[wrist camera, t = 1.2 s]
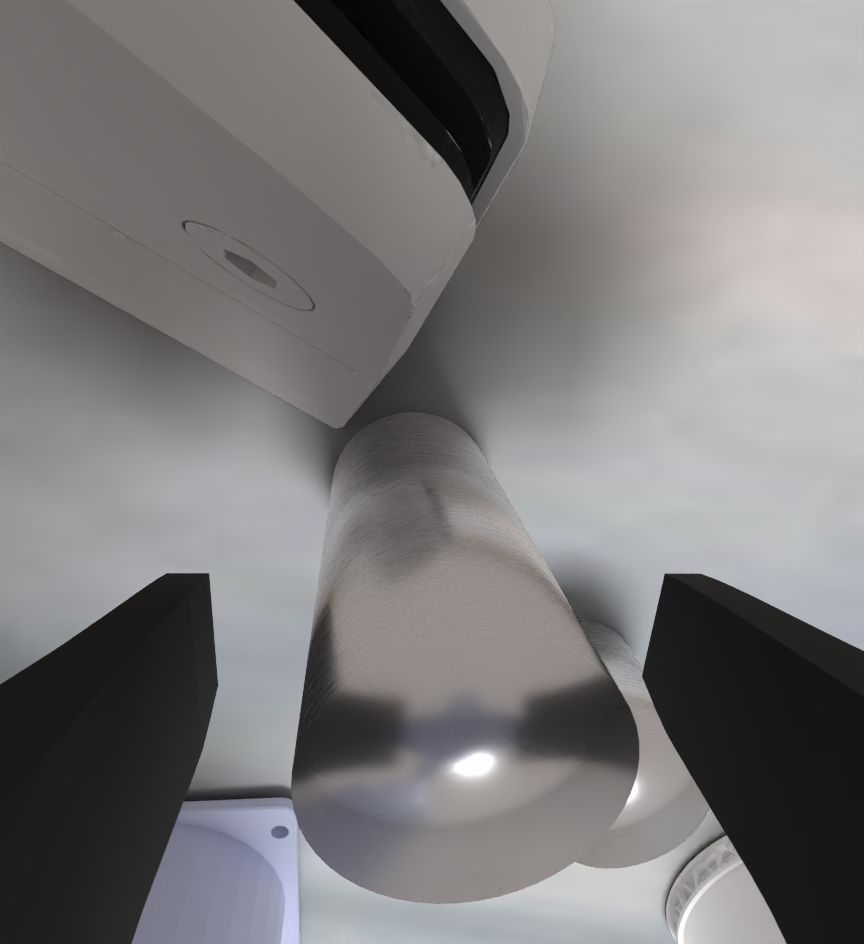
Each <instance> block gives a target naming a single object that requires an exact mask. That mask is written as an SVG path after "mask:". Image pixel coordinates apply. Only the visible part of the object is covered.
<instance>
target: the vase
mask: <svg viewBox="0 0 864 944" xmlns="http://www.w3.org/2000/svg"><path fill="white" fill-rule="evenodd" d="M666 918H667V923H668V926H669V928H670V931H671V933H672V935H673V937H674V938H675V939H676V941H677V944H786V942H785V939H784V937H783V935H782V933H781V931H780V929H779V927H778V925H777V923H776V921H775V919H774V917H773V915H772V913H771V911H770V909H769V907H768V905H767V904H766V902H765V900H764V898H763V896H762V894H761V893H760V891H759V889H758V887H757V885H756V884H755V882H754V880H753V878H752V876H751V875H750V873H749V871H748V870H747V868H746V866H745V865H744V863H743V861H742V860H741V858H740V856H739V855H738V853H737V851H736V850H735V848H734V846H733V845H732V843H731V841H730V840H729V838H728V836H727V835H726V836H724V837H722V838H721V839H719V840H717V841H716V842H714V843H713V844H711V845H710V846H708V847H707V848H706V849H704V850H703V851H702V852H700V853H699V854H698V855H697V856H696V857H695V858H694V859H693V860H692V861H691V862H690V863H689V864H688V865H687V866H686V867H685V868H684V870H683V871H682V872H681V873H680V875H679V876H678V878H677V879H676V881H675V883H674V885H673V886H672V888H671V891H670V893H669V896H668V900H667V905H666Z"/></svg>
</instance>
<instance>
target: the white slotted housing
mask: <svg viewBox="0 0 864 944" xmlns="http://www.w3.org/2000/svg"><path fill="white" fill-rule="evenodd" d="M554 26H555V24H554V19H553V14H552V10H551V5H550V1H549V0H0V242H2V243H4V244H5V245H7V246H9V247H11V248H12V249H14V250H16V251H18V252H20V253H21V254H23V255H25V256H27V257H29V258H30V259H32V260H34V261H36V262H37V263H39V264H41V265H43V266H45V267H46V268H48V269H50V270H52V271H54V272H55V273H57V274H59V275H61V276H62V277H64V278H66V279H68V280H70V281H71V282H73V283H75V284H77V285H79V286H80V287H82V288H84V289H86V290H87V291H89V292H91V293H93V294H95V295H96V296H98V297H100V298H102V299H104V300H105V301H107V302H109V303H111V304H112V305H114V306H116V307H118V308H120V309H121V310H123V311H125V312H127V313H129V314H130V315H132V316H134V317H136V318H137V319H139V320H141V321H143V322H145V323H146V324H148V325H150V326H152V327H154V328H155V329H157V330H159V331H161V332H162V333H164V334H166V335H168V336H170V337H171V338H173V339H175V340H177V341H179V342H180V343H182V344H184V345H186V346H187V347H189V348H191V349H193V350H195V351H196V352H198V353H200V354H202V355H204V356H205V357H207V358H209V359H211V360H213V361H214V362H216V363H218V364H220V365H221V366H223V367H225V368H227V369H229V370H230V371H232V372H234V373H236V374H238V375H239V376H241V377H243V378H245V379H246V380H248V381H250V382H252V383H254V384H255V385H257V386H259V387H261V388H263V389H264V390H266V391H268V392H270V393H271V394H273V395H275V396H277V397H279V398H280V399H282V400H284V401H286V402H288V403H289V404H291V405H293V406H295V407H296V408H298V409H300V410H302V411H304V412H305V413H307V414H309V415H311V416H313V417H314V418H316V419H318V420H320V421H321V422H323V423H325V424H327V425H329V426H330V427H332V428H334V429H335V428H341V427H344V426H345V424H346V423H347V422H348V421H349V420H350V418H351V417H352V416H353V415H354V414H355V412H356V411H357V410H358V409H359V407H360V406H361V405H362V404H363V403H364V401H365V400H366V399H367V398H368V397H369V395H370V394H371V393H372V392H373V390H374V389H375V388H376V387H377V386H378V384H379V383H380V382H381V381H382V380H383V378H384V377H385V376H386V375H387V374H388V372H389V371H390V370H391V369H392V368H393V366H394V365H395V364H396V363H397V362H398V360H399V359H400V358H401V357H402V356H403V354H404V353H405V352H406V351H407V349H408V348H409V346H410V344H411V343H412V341H413V340H414V338H415V336H416V335H417V333H418V331H419V330H420V328H421V326H422V325H423V323H424V321H425V320H426V318H427V316H428V315H429V313H430V311H431V310H432V308H433V306H434V305H435V303H436V301H437V300H438V298H439V296H440V295H441V293H442V291H443V290H444V288H445V286H446V285H447V283H448V281H449V280H450V278H451V276H452V275H453V273H454V271H455V270H456V268H457V266H458V265H459V263H460V261H461V260H462V258H463V256H464V255H465V253H466V251H467V250H468V248H469V246H470V245H471V243H472V241H473V240H474V238H475V230H476V228H477V227H478V225H479V223H480V221H481V220H482V218H483V216H484V215H485V213H486V211H487V210H488V208H489V206H490V205H491V203H492V201H493V199H494V198H495V196H496V194H497V193H498V191H499V189H500V188H501V186H502V184H503V182H504V181H505V179H506V177H507V176H508V174H509V172H510V171H511V169H512V167H513V166H514V164H515V162H516V160H517V159H518V157H519V155H520V154H521V152H522V150H523V149H524V147H525V145H526V143H527V140H528V136H529V132H530V129H531V125H532V122H533V118H534V115H535V111H536V107H537V104H538V100H539V97H540V93H541V90H542V86H543V82H544V79H545V75H546V72H547V68H548V65H549V61H550V57H551V54H552V50H553V46H554Z"/></svg>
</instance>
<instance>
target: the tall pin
mask: <svg viewBox="0 0 864 944" xmlns="http://www.w3.org/2000/svg"><path fill="white" fill-rule="evenodd" d="M639 758H640V757H639V737H638V731H637V726H636V722H635V720H634V717H633V714H632V712H631V709H630V707H629V705H628V703H627V702H626V700H625V698H624V697H623V695H622V693H621V691H620V690H619V688H618V686H617V684H616V683H615V681H614V679H613V678H612V676H611V674H610V672H609V671H608V669H607V667H606V666H605V664H604V662H603V660H602V659H601V657H600V655H599V654H598V652H597V650H596V648H595V647H594V645H593V643H592V641H591V640H590V638H589V636H588V635H587V633H586V631H585V629H584V628H583V626H582V624H581V623H580V621H579V619H578V617H577V616H576V614H575V612H574V610H573V609H572V607H571V605H570V604H569V602H568V600H567V598H566V597H565V595H564V593H563V592H562V590H561V588H560V586H559V585H558V583H557V581H556V579H555V578H554V576H553V574H552V573H551V571H550V569H549V567H548V566H547V564H546V562H545V561H544V559H543V557H542V555H541V554H540V552H539V550H538V549H537V547H536V545H535V543H534V542H533V540H532V538H531V536H530V535H529V533H528V531H527V530H526V528H525V526H524V524H523V523H522V521H521V519H520V518H519V516H518V514H517V512H516V511H515V509H514V507H513V505H512V504H511V502H510V500H509V499H508V497H507V495H506V493H505V492H504V490H503V488H502V487H501V485H500V483H499V481H498V480H497V478H496V476H495V474H494V473H493V471H492V469H491V468H490V466H489V464H488V462H487V461H486V459H485V457H484V456H483V454H482V452H481V450H480V449H479V447H478V445H477V444H476V443H475V441H474V440H473V439H472V437H471V436H470V435H469V434H468V433H467V432H465V431H464V430H463V429H462V428H461V427H459V426H458V425H456V424H455V423H453V422H451V421H449V420H447V419H445V418H442V417H440V416H437V415H433V414H429V413H422V412H403V413H397V414H392V415H389V416H386V417H383V418H380V419H378V420H376V421H374V422H372V423H370V424H369V425H367V426H365V427H364V428H363V429H361V430H360V431H359V432H358V433H357V434H356V435H355V436H354V437H353V438H352V439H351V440H350V441H349V442H348V443H347V445H346V446H345V448H344V449H343V451H342V453H341V454H340V456H339V458H338V461H337V463H336V466H335V470H334V474H333V480H332V487H331V494H330V502H329V509H328V516H327V523H326V531H325V538H324V545H323V552H322V559H321V567H320V574H319V581H318V588H317V596H316V603H315V610H314V617H313V625H312V632H311V639H310V646H309V654H308V661H307V668H306V675H305V683H304V690H303V697H302V704H301V712H300V719H299V726H298V733H297V741H296V748H295V755H294V762H293V770H292V783H291V794H292V803H293V809H294V812H295V816H296V819H297V822H298V825H299V827H300V829H301V831H302V833H303V835H304V837H305V839H306V841H307V842H308V843H309V845H310V846H311V847H312V849H313V850H314V851H315V853H316V854H317V855H318V856H319V857H320V858H321V859H322V860H323V861H324V862H325V863H326V864H327V865H328V866H329V867H330V868H332V869H333V870H334V871H336V872H337V873H338V874H340V875H341V876H342V877H344V878H346V879H347V880H349V881H351V882H353V883H355V884H356V885H358V886H360V887H363V888H365V889H368V890H370V891H373V892H375V893H377V894H381V895H384V896H388V897H392V898H395V899H400V900H406V901H412V902H420V903H434V904H443V903H463V902H472V901H479V900H484V899H489V898H494V897H499V896H502V895H505V894H509V893H512V892H515V891H518V890H521V889H524V888H526V887H529V886H531V885H534V884H536V883H538V882H540V881H542V880H544V879H546V878H548V877H550V876H552V875H554V874H556V873H557V872H559V871H561V870H562V869H564V868H565V867H567V866H569V865H570V864H572V863H573V862H574V861H576V860H577V859H578V858H580V857H581V856H582V855H584V854H585V853H586V852H587V851H589V850H590V849H591V848H592V847H593V846H594V845H595V844H596V843H597V842H598V841H599V840H600V839H601V838H602V837H603V836H604V835H605V833H606V832H607V831H608V830H609V829H610V827H611V826H612V825H613V824H614V822H615V821H616V819H617V818H618V816H619V815H620V813H621V812H622V810H623V809H624V807H625V805H626V803H627V800H628V798H629V796H630V794H631V792H632V789H633V786H634V783H635V780H636V776H637V771H638V765H639Z"/></svg>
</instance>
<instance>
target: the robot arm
mask: <svg viewBox="0 0 864 944" xmlns="http://www.w3.org/2000/svg"><path fill="white" fill-rule="evenodd" d="M642 678H643V680H644V683H645V685H646V688H647V690H648V692H649V695H650V697H651V700H652V702H653V705H654V707H655V709H656V712H657V714H658V716H659V718H660V720H661V723H662V725H663V727H664V729H665V732H666V734H667V735H668V737H669V739H670V741H671V742H672V744H673V746H674V748H675V749H676V751H677V753H678V755H679V756H680V758H681V760H682V761H683V763H684V765H685V766H686V768H687V770H688V771H689V773H690V775H691V777H692V778H693V780H694V782H695V783H696V785H697V787H698V788H699V790H700V792H701V793H702V795H703V797H704V798H705V800H706V802H707V803H708V805H709V807H710V808H711V810H712V811H713V813H714V815H715V816H716V818H717V820H718V821H719V823H720V825H721V826H722V828H723V830H724V831H725V833H726V835H727V836H728V838H729V840H730V841H731V843H732V845H733V846H734V848H735V850H736V851H737V853H738V855H739V856H740V858H741V860H742V861H743V863H744V865H745V866H746V868H747V870H748V871H749V873H750V875H751V876H752V878H753V880H754V882H755V884H756V885H757V887H758V889H759V891H760V893H761V894H762V896H763V898H764V900H765V902H766V904H767V905H768V907H769V909H770V911H771V913H772V915H773V917H774V919H775V921H776V923H777V925H778V927H779V929H780V931H781V933H782V935H783V937H784V939H785V942H786V944H864V651H862V650H860V649H858V648H856V647H854V646H852V645H850V644H848V643H846V642H844V641H842V640H840V639H838V638H836V637H834V636H832V635H830V634H827V633H825V632H823V631H821V630H819V629H817V628H815V627H813V626H811V625H809V624H807V623H805V622H803V621H801V620H799V619H797V618H795V617H793V616H791V615H789V614H787V613H785V612H783V611H781V610H779V609H777V608H775V607H773V606H771V605H769V604H767V603H765V602H763V601H761V600H759V599H757V598H755V597H753V596H751V595H749V594H747V593H745V592H743V591H740V590H738V589H736V588H734V587H732V586H730V585H727V584H725V583H723V582H721V581H718V580H716V579H713V578H711V577H708V576H705V575H702V574H665V576H664V580H663V585H662V589H661V594H660V598H659V602H658V607H657V611H656V616H655V620H654V625H653V629H652V634H651V638H650V642H649V647H648V651H647V656H646V660H645V665H644V669H643V674H642ZM217 687H218V680H217V667H216V655H215V642H214V630H213V617H212V605H211V592H210V579H209V573H167V574H165V575H163V576H162V577H160V578H158V579H157V580H155V581H154V582H152V583H151V584H149V585H148V586H146V587H145V588H143V589H142V590H140V591H139V592H137V593H136V594H135V595H133V596H132V597H130V598H129V599H128V600H126V601H125V602H123V603H122V604H120V605H119V606H118V607H116V608H115V609H113V610H112V611H111V612H109V613H108V614H106V615H105V616H103V617H102V618H101V619H99V620H98V621H96V622H95V623H93V624H92V625H90V626H89V627H88V628H86V629H85V630H83V631H82V632H80V633H79V634H77V635H76V636H75V637H73V638H72V639H70V640H69V641H67V642H66V643H64V644H63V645H61V646H60V647H58V648H57V649H56V650H54V651H52V652H51V653H49V654H48V655H46V656H45V657H43V658H41V659H40V660H38V661H37V662H35V663H33V664H32V665H30V666H29V667H27V668H26V669H24V670H22V671H21V672H19V673H18V674H16V675H15V676H13V677H11V678H10V679H8V680H7V681H5V682H4V683H2V684H0V944H301V931H300V888H299V845H298V822H297V819H296V816H295V812H294V809H293V803H292V800H290V799H288V798H282V797H278V798H256V799H234V800H211V801H189V802H184V799H185V796H186V794H187V791H188V788H189V785H190V783H191V780H192V777H193V775H194V772H195V769H196V766H197V764H198V761H199V758H200V755H201V752H202V750H203V746H204V742H205V738H206V734H207V730H208V726H209V722H210V718H211V713H212V709H213V704H214V700H215V696H216V691H217ZM279 826H284V827H279Z"/></svg>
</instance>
